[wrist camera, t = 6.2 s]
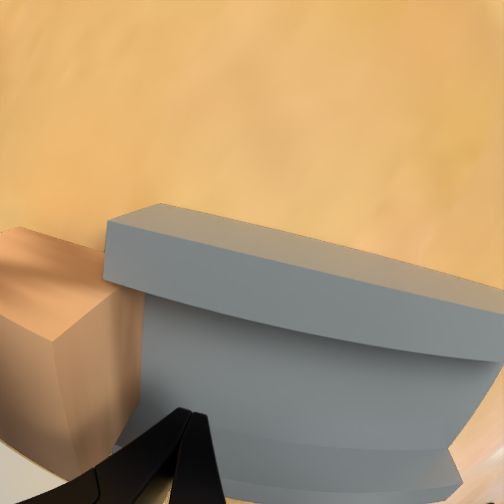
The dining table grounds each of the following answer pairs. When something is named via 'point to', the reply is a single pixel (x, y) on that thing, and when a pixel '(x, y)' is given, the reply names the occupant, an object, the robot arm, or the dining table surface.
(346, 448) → the chute
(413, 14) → the dining table surface
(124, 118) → the dining table surface
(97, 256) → the block
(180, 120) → the dining table surface
